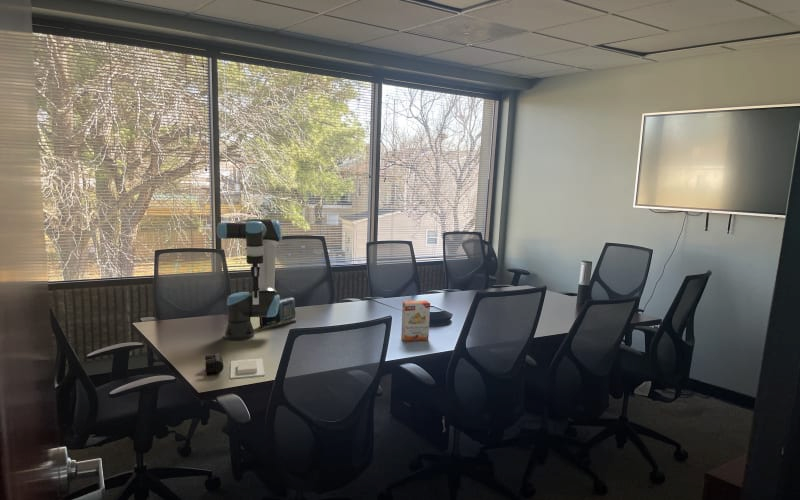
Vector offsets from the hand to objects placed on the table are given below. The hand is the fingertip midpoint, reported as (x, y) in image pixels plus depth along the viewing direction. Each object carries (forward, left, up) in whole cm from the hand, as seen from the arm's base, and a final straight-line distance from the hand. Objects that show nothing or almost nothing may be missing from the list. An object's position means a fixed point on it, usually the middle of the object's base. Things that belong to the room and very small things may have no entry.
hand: (255, 304), depth 238 cm
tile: (+17, -5, -24) cm, 30 cm away
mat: (+15, -5, -26) cm, 30 cm away
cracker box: (-6, +82, -26) cm, 87 cm away
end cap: (+15, -18, -26) cm, 35 cm away
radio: (-50, +14, -26) cm, 58 cm away
